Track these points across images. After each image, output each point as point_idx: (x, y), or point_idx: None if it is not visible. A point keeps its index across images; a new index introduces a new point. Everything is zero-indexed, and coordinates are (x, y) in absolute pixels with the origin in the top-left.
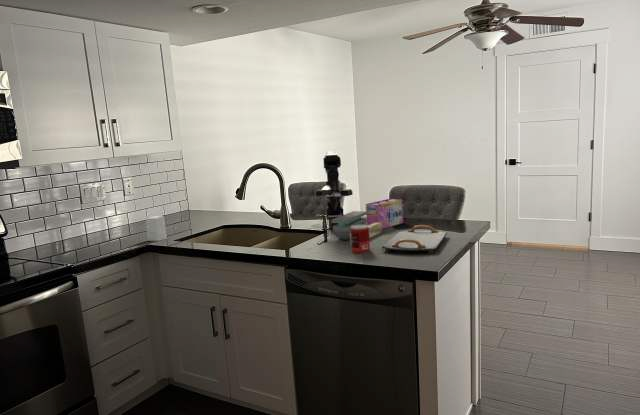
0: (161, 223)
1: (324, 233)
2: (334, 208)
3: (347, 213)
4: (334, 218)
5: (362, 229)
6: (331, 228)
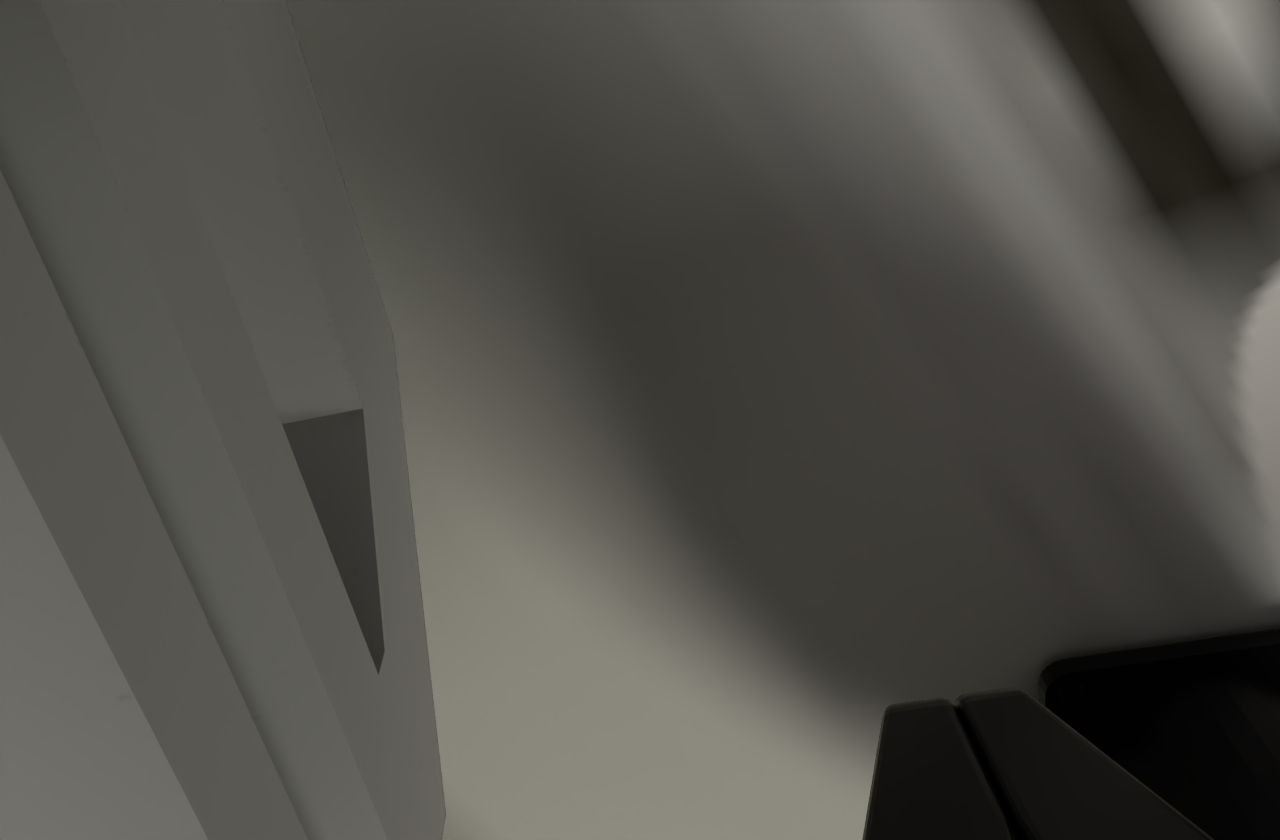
0: None
1: (1223, 176)
2: (939, 753)
3: (173, 811)
4: None
5: None
6: (1264, 670)
